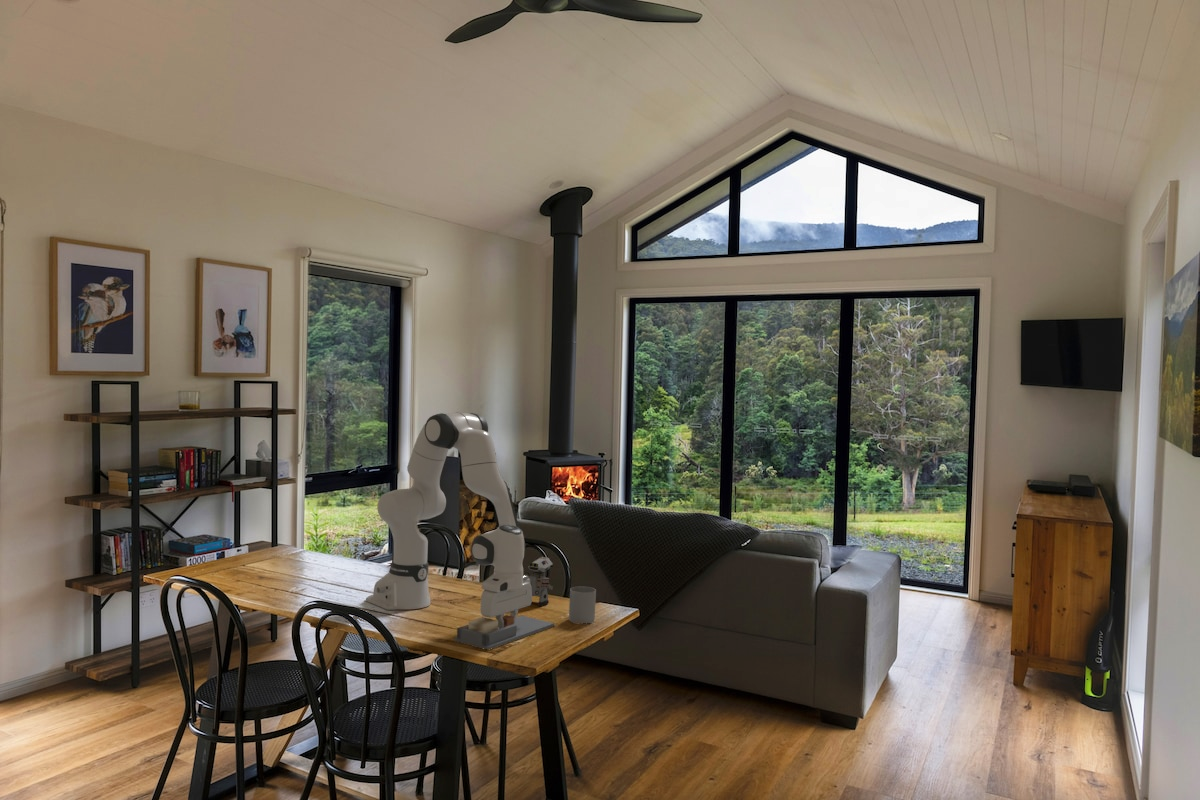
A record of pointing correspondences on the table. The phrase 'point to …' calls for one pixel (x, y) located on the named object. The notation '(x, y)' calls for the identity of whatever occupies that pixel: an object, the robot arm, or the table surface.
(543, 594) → the figurine
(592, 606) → the cup
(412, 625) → the table surface
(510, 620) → the block
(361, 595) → the table surface
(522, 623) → the grey slider tray
